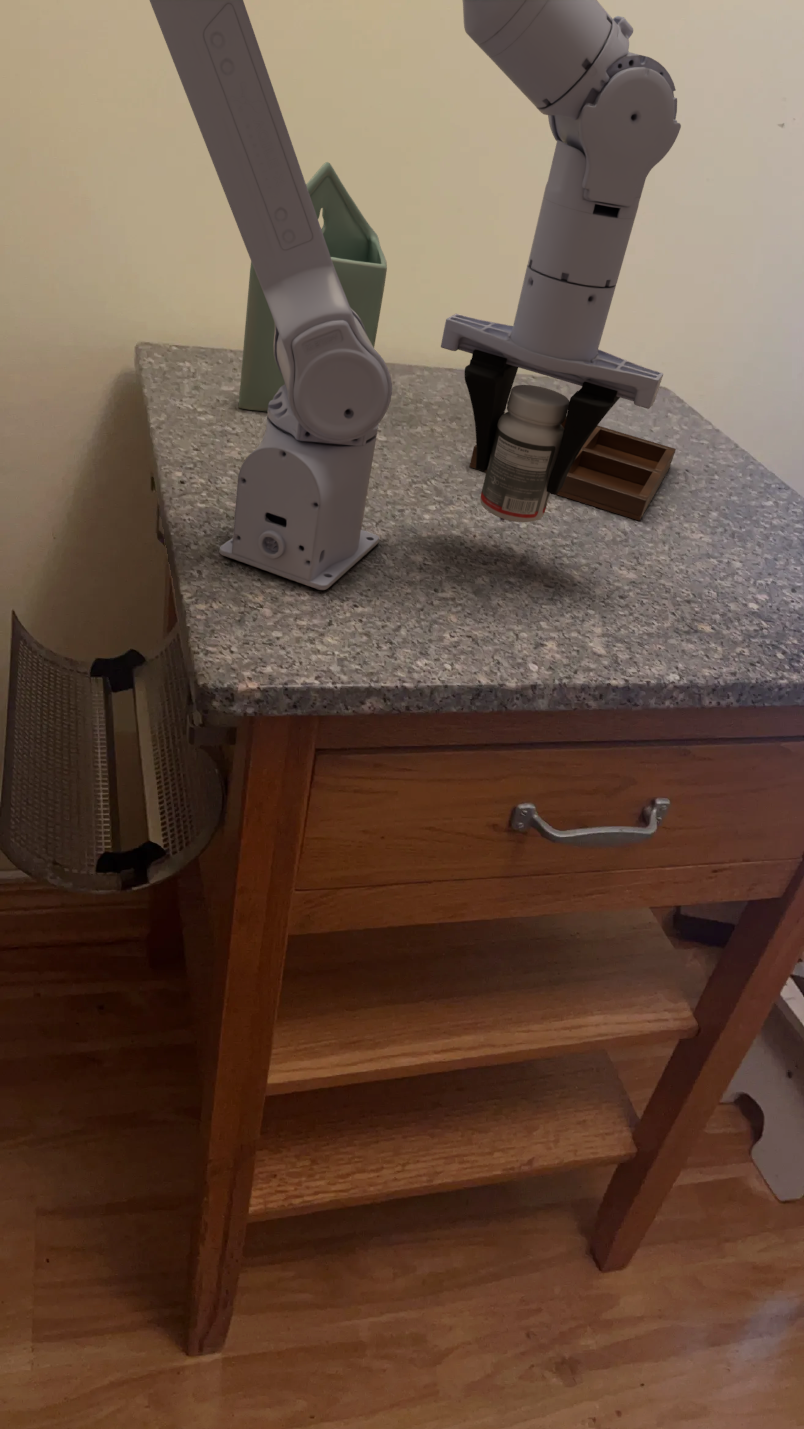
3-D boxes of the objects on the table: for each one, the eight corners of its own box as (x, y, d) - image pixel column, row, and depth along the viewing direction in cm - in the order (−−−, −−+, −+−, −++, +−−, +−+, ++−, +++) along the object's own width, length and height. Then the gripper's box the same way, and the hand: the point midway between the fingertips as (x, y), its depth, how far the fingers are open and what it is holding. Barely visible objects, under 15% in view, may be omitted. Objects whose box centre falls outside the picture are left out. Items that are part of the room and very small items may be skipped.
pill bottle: (503, 489, 77) (530, 378, 72) (555, 514, 74) (587, 401, 70) (465, 503, 73) (492, 387, 68) (520, 529, 71) (551, 411, 66)
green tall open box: (302, 437, 89) (333, 185, 77) (236, 406, 92) (257, 160, 81) (414, 407, 100) (455, 184, 89) (352, 380, 104) (384, 162, 92)
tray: (639, 521, 87) (646, 500, 86) (469, 467, 90) (473, 446, 89) (669, 467, 99) (676, 448, 98) (518, 421, 102) (523, 402, 101)
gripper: (693, 295, 66) (630, 491, 74) (483, 238, 70) (443, 432, 77) (676, 313, 61) (609, 523, 68) (448, 251, 64) (409, 459, 72)
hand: (519, 477), depth 72 cm, fingers closed on pill bottle, 5 cm apart
